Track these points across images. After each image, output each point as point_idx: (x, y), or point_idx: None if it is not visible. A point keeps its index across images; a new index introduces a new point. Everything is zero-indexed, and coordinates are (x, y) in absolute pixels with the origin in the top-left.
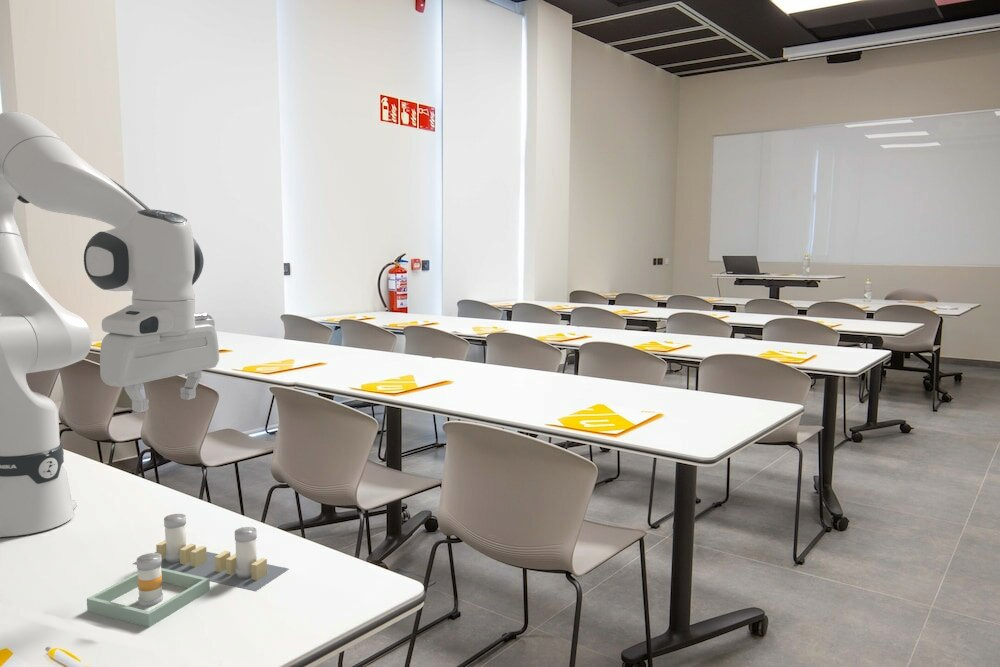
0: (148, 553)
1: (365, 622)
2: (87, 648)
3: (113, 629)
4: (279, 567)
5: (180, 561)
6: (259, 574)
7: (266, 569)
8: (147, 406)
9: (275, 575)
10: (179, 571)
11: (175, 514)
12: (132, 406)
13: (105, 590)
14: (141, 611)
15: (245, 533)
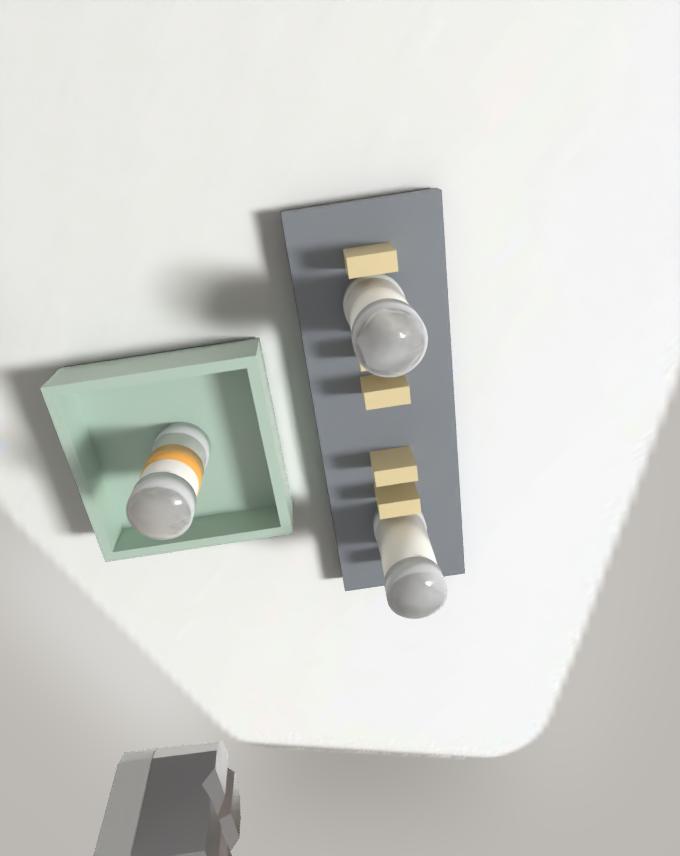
0: (174, 489)
1: (381, 752)
2: (10, 471)
3: None
4: (460, 552)
5: None
6: None
7: None
8: (226, 840)
9: None
10: (320, 379)
11: (411, 320)
12: (113, 790)
13: (94, 387)
14: (101, 540)
15: (402, 607)
